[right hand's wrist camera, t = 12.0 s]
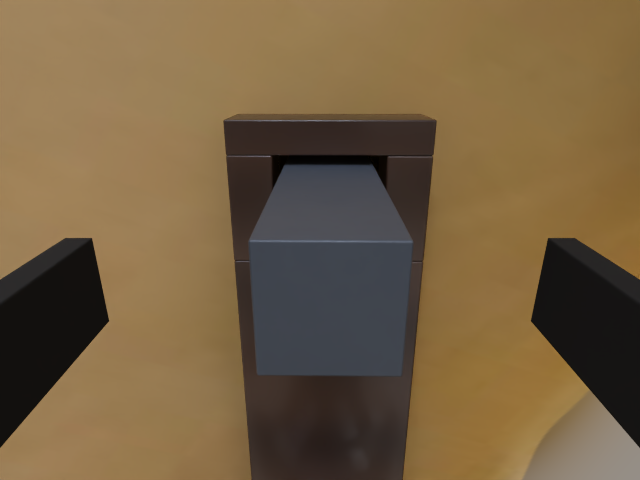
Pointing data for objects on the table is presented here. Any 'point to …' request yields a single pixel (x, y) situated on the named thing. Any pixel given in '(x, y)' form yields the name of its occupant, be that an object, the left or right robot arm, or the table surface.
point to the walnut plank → (260, 391)
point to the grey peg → (330, 272)
